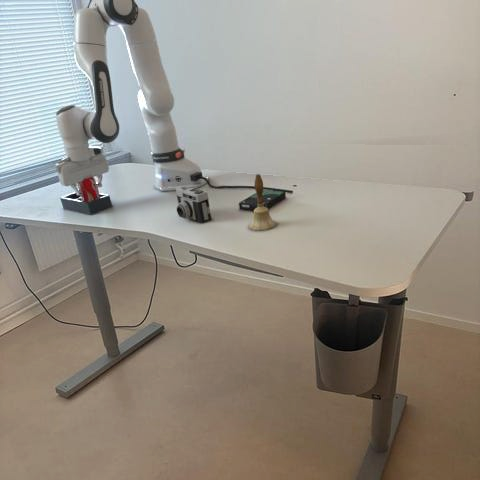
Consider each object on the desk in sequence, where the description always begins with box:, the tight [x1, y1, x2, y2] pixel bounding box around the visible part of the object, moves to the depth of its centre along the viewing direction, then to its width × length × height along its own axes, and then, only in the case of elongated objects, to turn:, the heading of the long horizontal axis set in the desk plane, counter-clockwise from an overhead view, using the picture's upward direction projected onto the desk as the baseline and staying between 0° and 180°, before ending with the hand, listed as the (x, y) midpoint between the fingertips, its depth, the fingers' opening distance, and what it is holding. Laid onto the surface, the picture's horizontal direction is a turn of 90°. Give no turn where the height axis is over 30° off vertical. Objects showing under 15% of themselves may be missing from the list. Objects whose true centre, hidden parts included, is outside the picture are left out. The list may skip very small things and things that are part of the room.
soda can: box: [76, 176, 100, 202], centre depth 189 cm, size 7×7×12 cm
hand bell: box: [249, 173, 277, 232], centre depth 150 cm, size 8×8×16 cm
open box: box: [59, 191, 113, 216], centre depth 194 cm, size 19×10×5 cm, turn 49°
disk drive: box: [238, 189, 287, 212], centre depth 171 cm, size 10×3×15 cm
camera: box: [175, 186, 212, 224], centre depth 165 cm, size 14×8×10 cm, turn 37°
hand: (89, 190), depth 188 cm, fingers open, 8 cm apart
